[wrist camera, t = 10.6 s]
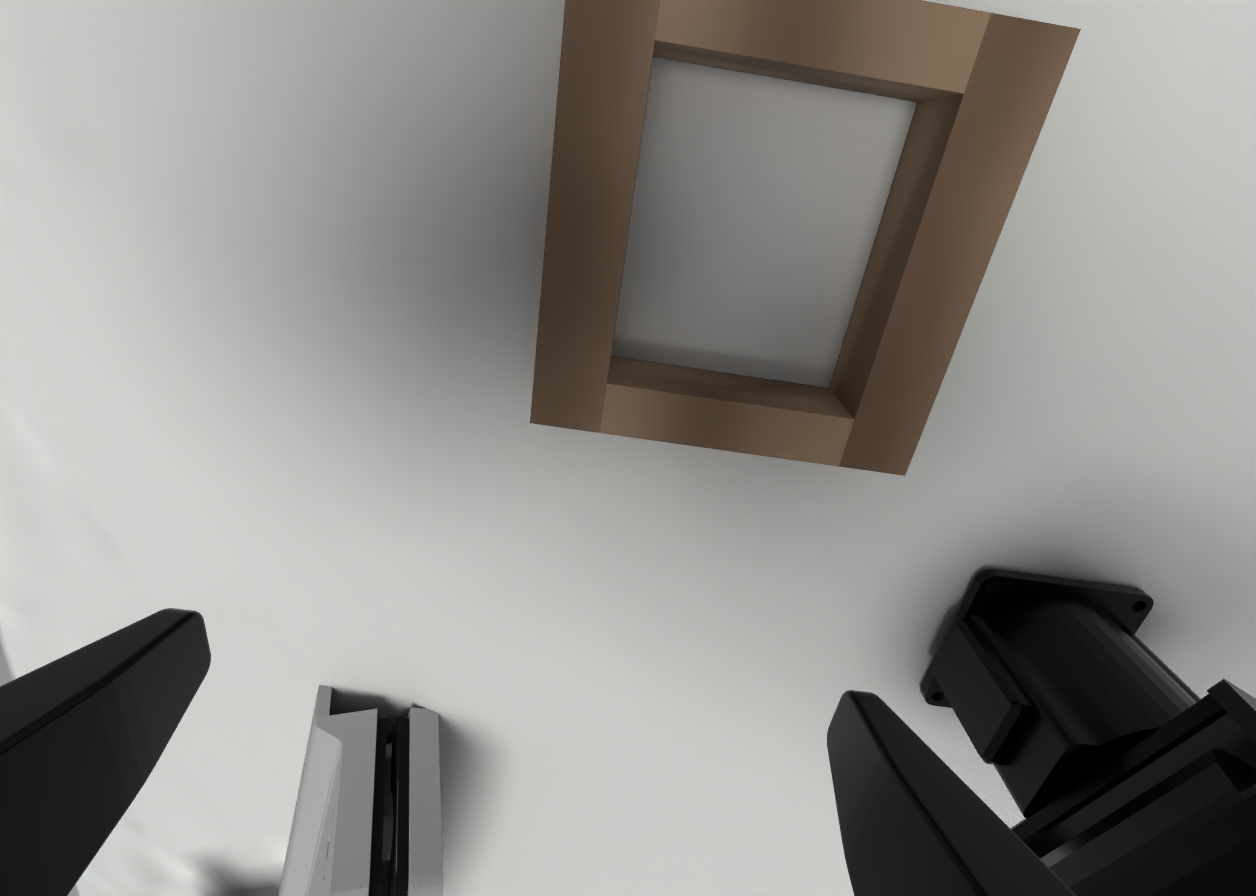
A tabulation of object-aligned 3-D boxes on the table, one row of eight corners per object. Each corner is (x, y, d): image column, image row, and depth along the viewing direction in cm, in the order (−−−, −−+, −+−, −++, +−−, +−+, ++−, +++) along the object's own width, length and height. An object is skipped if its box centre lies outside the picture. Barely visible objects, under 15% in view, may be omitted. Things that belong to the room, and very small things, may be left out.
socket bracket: (1016, 47, 15) (1080, 29, 13) (874, 439, 20) (905, 475, 18) (581, -30, 15) (570, -64, 13) (542, 392, 20) (530, 422, 17)
